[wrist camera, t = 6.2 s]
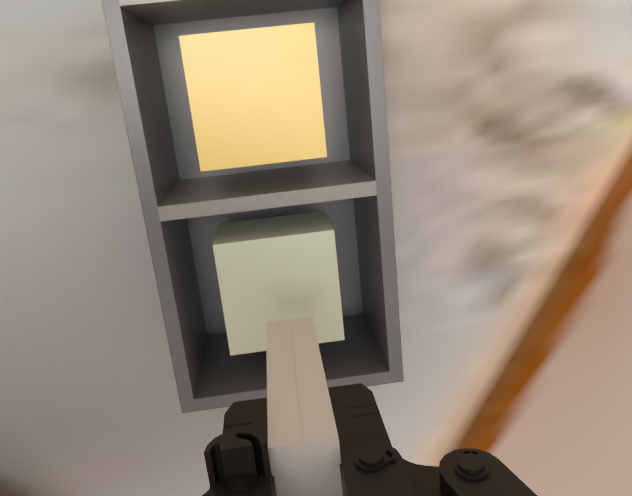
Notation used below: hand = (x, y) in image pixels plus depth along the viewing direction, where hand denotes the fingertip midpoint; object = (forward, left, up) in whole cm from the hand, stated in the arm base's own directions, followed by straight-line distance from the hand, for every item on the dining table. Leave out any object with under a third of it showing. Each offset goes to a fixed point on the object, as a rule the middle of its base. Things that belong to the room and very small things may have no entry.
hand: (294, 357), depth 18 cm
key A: (0, 0, -9) cm, 9 cm away
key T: (0, +8, -9) cm, 12 cm away
